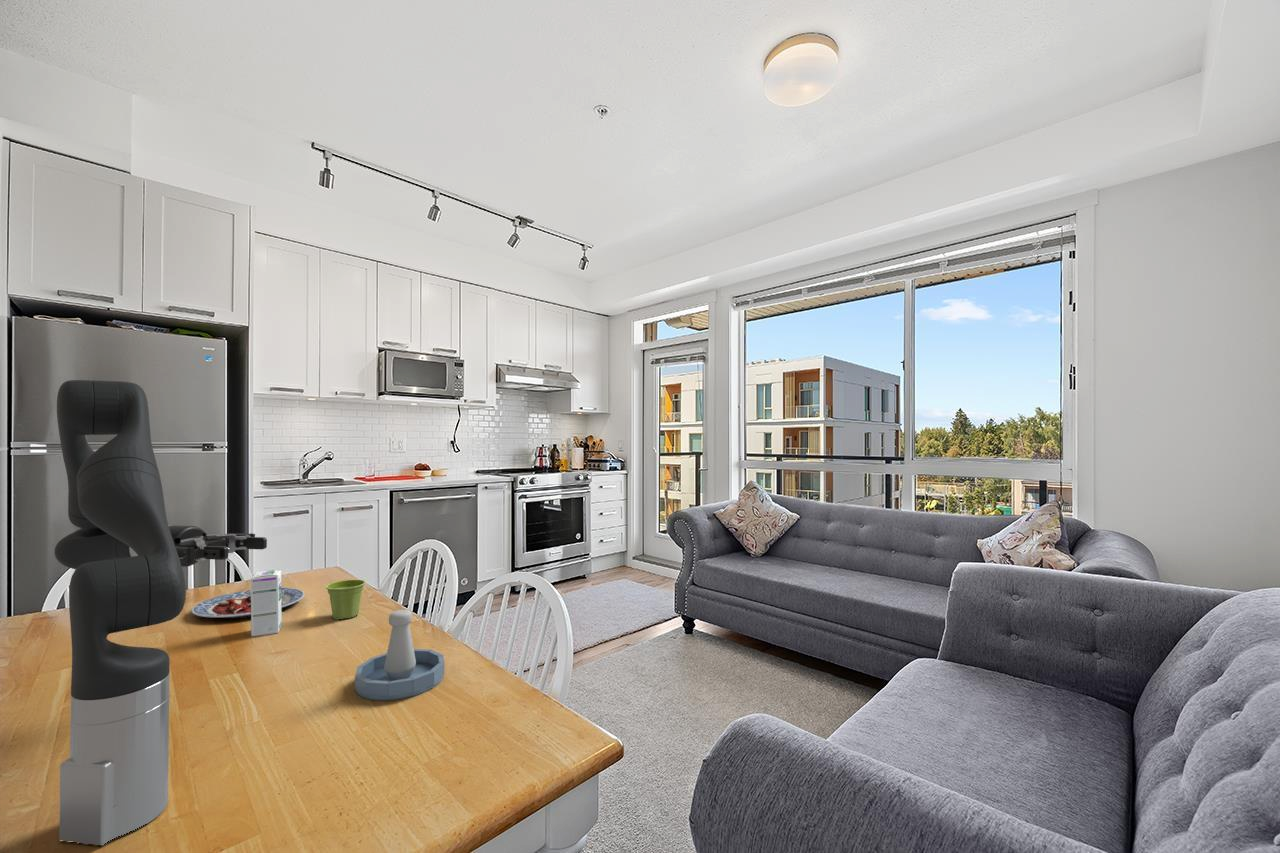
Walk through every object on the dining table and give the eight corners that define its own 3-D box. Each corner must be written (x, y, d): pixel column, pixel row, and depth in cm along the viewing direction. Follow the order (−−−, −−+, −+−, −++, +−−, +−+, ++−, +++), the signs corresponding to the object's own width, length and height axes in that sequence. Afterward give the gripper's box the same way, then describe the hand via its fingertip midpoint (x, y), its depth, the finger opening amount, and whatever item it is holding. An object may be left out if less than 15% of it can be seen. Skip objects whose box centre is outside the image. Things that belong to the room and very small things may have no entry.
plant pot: (317, 620, 144) (317, 587, 144) (345, 609, 153) (346, 578, 153) (345, 623, 142) (345, 590, 142) (373, 612, 151) (373, 580, 151)
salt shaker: (403, 685, 106) (404, 617, 106) (377, 682, 107) (378, 615, 107) (421, 672, 112) (422, 607, 112) (396, 669, 113) (396, 606, 113)
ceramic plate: (195, 632, 136) (195, 620, 136) (188, 607, 155) (188, 596, 155) (313, 609, 154) (313, 599, 154) (294, 589, 173) (294, 580, 173)
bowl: (417, 703, 100) (417, 685, 100) (336, 697, 102) (337, 680, 102) (457, 666, 116) (457, 651, 116) (386, 662, 118) (387, 647, 118)
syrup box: (279, 633, 135) (279, 574, 135) (249, 637, 132) (250, 576, 132) (281, 626, 140) (282, 568, 140) (253, 629, 137) (254, 571, 137)
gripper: (130, 532, 97) (212, 534, 95) (203, 519, 111) (277, 521, 109) (129, 575, 97) (212, 578, 95) (203, 557, 111) (276, 559, 109)
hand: (246, 548), depth 102 cm, fingers open, 8 cm apart
